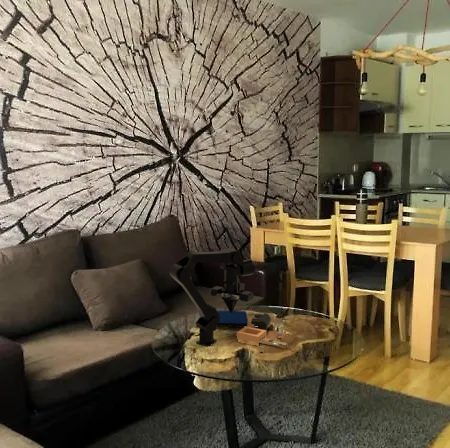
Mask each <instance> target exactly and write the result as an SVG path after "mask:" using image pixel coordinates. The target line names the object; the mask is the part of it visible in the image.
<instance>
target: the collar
mask: <svg viewBox="0 0 450 448" xmlns="http://www.w3.org/2000/svg"><path fill="white" fill-rule="evenodd" d="M251 327H252V326H248V325H247V326H246V327H242V328H241V329H240V330H238V331H236V334H237V339H242V340H248V341H253V342H259V341H260V339H262V338H265V337H266V338H267V334H268V333H267V330H261V329H256V328H251ZM237 339H236V340H237Z"/></svg>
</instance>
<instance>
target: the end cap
mask: <svg viewBox="0 0 450 448" xmlns="http://www.w3.org/2000/svg"><path fill="white" fill-rule="evenodd" d="M271 320H272V317H271V316H270V314H268V313H267V312H264V313H263V314H260V313H258V314H257V313H255V314H254V315H253V317H252V319H251V322H250V323H251V325H253V326H250V327H251V328H256V329H261V330H266V331H267V330H268V327H270V326H269V325H270V324H271ZM255 326H258V327H255Z"/></svg>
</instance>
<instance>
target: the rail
mask: <svg viewBox="0 0 450 448" xmlns="http://www.w3.org/2000/svg"><path fill="white" fill-rule="evenodd" d="M277 335H278V336H282V337H283V333H282V332H280V331H279V332H278V331H277V332H276V336H277ZM236 336H237V333H236ZM260 340H262V341H269V342H273V343H278V344H282V345H285V346H286V345H287V346H288V343H287V342H283V341H279V340H274V339H269V338H266V339H265V338H262V339H260ZM259 348H260V349H264V348H265V349H266V346H265V345H264V346H263V345H260V346H258V349H259Z"/></svg>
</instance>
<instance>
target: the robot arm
mask: <svg viewBox="0 0 450 448" xmlns="http://www.w3.org/2000/svg"><path fill="white" fill-rule="evenodd" d="M217 262H222V264H221V265H220V267H219V268H220V269H222V270H224V280H222V281H223V282H222V283H223V284H224V287H223V286H218V285H215V286H213V287H212V288H211V289H210V290H209V295H210V296H213V297H216V296H218V294H220V295H221V300H223V302H224V304H225V305H226V307H227V310H228V311H230V313H233V311H235V307H236V306H237V303H238V301H239V300H240V301H241V302H250V301H252V299H254V293H253V292H252V291H247V290H245V285H246V283H243V282H241V281H240V279H239V277H245V276H246V277H247V276H251V275H254V274H255V271H256V269H255V265H254V263H253V260H252V259H250V258H247V259H246V260H245V259H244V260H243V258H242V257H241V253H240V252H239V251H238V250H236V249H233V248H229V247H226V248H223V249H220V250H217V251H190V252H188V253H187V254H185V256H184V257H182V258H180V259H178V261H177V262H175V263H174V264H172V265H171V267H170V268H169V273H168V274H169V275H170V277H171V278H172V279H173V280H174V281H176V282H177V283H178V284H179V285H180V286H181V287H182V288H183V290H184V291H185V293H186V294H187V295H188V296H189V298H190V300H191V301H192V303H193V305H195V307H196V309H197V310H198V315H199V318H198V319H197V320H196V322H195V325H196V327H197V328H199V331H198V332H199V333H198V334H199V335H198V336H199V340H197V341H196V344H197V345H202V346H206V347H210V346H212V345H213V344H215V343H216V342H217V339H214V338H215V337H214V335H215V333H214V332H216V331H217V329H218V327H219V326H218V323H219V321H220V317H219V315H220V314H219V313H218V312H217V311H218V310H217V308H216V307H215V306H213V305H211V304H209V303H207V302H206V300H205V299H204V298H203V296H202V295H201V293H200V292H199V291H198V288H196V286H195V285H194V283H193V281H192V275H191V273H192V272H193V271H194V269H195V268H196V265H197V264H199V263H217ZM241 291H242V292H241ZM214 342H215V343H214ZM211 344H212V345H211Z"/></svg>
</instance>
